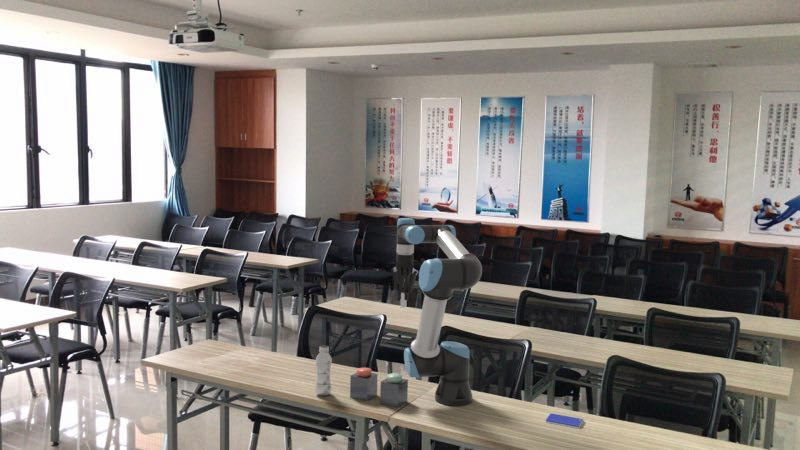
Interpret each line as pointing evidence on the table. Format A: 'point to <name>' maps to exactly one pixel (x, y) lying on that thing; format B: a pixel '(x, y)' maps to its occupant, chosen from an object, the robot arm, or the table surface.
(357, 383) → the red button post
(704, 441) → the table surface
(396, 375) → the green button
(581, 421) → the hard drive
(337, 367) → the table surface
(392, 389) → the green button post
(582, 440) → the table surface
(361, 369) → the red button
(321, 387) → the plastic bottle
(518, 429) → the table surface
